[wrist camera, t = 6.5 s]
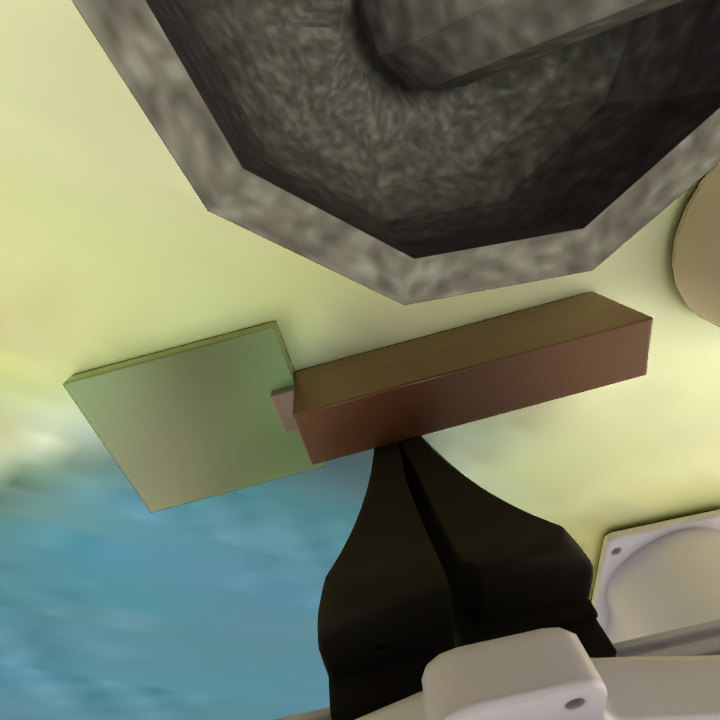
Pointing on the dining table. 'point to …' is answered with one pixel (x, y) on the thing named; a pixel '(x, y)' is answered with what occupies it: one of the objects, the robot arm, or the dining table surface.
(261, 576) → the dining table surface
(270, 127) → the mortar and pestle
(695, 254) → the cup
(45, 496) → the dining table surface
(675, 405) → the dining table surface
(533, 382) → the spatula
